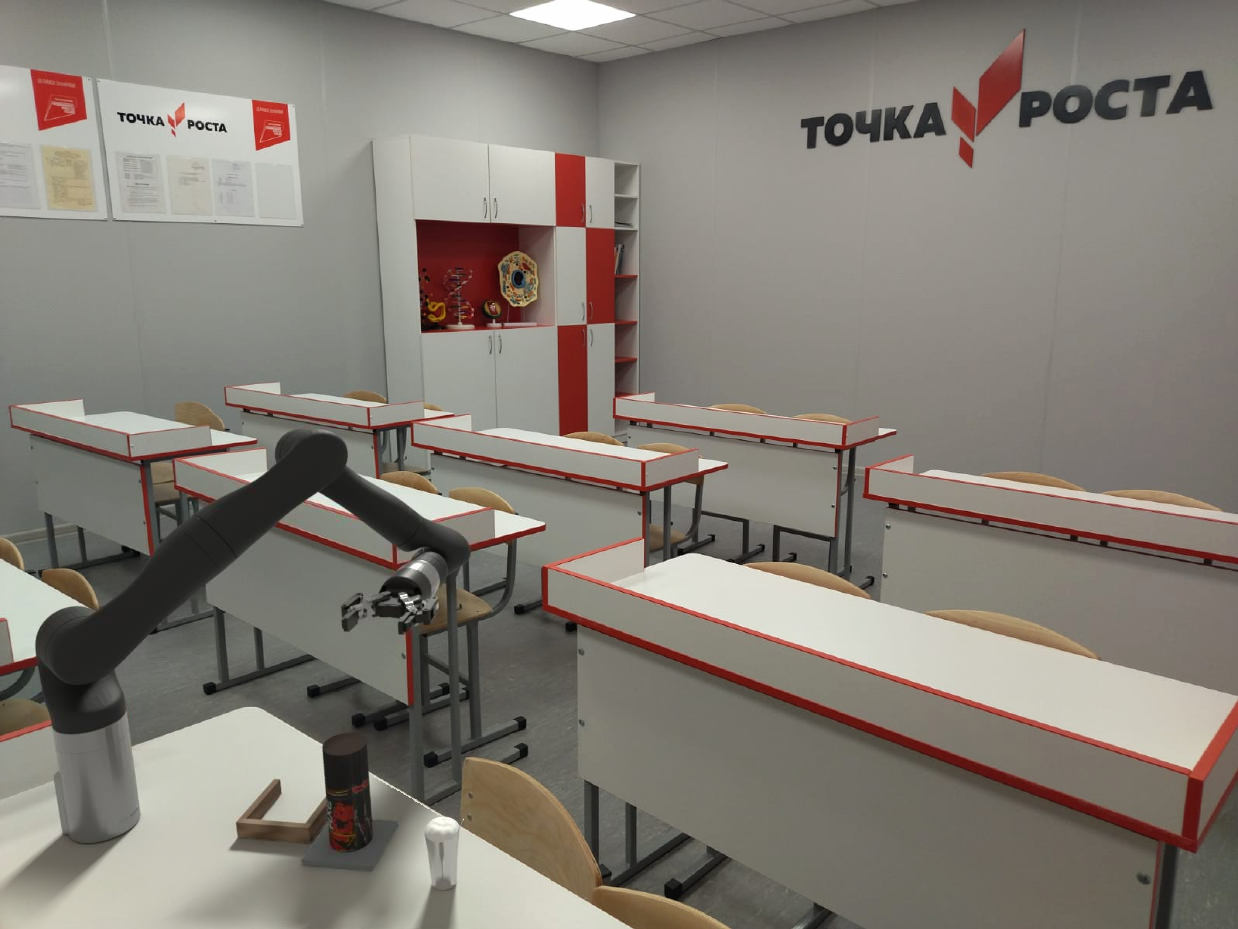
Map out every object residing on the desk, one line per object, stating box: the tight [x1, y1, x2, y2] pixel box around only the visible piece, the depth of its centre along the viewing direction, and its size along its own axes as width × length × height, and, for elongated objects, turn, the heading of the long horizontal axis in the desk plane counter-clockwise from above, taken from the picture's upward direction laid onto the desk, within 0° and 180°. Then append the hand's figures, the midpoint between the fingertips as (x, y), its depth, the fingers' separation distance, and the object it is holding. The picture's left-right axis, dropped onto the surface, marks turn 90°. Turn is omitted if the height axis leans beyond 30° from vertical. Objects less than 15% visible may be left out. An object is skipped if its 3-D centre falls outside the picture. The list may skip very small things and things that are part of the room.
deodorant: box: [321, 732, 373, 852], centre depth 124 cm, size 6×6×15 cm
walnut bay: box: [235, 778, 328, 845], centre depth 131 cm, size 11×11×2 cm
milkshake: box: [423, 816, 465, 891], centre depth 117 cm, size 5×5×10 cm
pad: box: [301, 818, 399, 872], centre depth 125 cm, size 10×10×1 cm
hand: (372, 627), depth 131 cm, fingers open, 8 cm apart
